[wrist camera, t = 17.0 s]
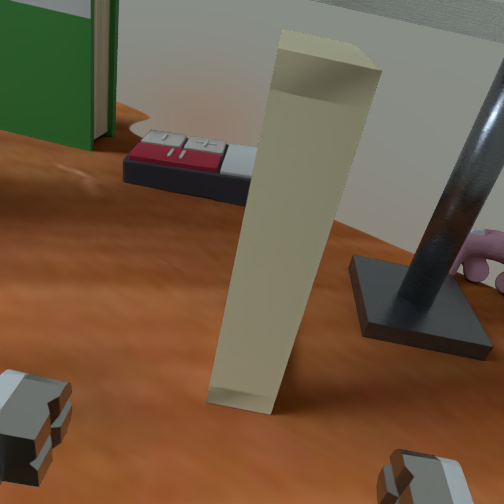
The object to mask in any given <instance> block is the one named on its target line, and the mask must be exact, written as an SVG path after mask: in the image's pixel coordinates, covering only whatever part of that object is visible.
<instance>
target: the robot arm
mask: <svg viewBox="0 0 504 504" xmlns="http://www.w3.org/2000/svg"><path fill="white" fill-rule="evenodd" d="M71 393H72V386H71V383H68V382H63V381H59V380H55V379H50V378H46V377H41V376H37V375H32V374H28V373H24V372H19V371H14V370H9V369H7V370H6V371H5V372H3V373H2V374H1V375H0V484H1V483H2V482H1V481H4V482H10V483H16V484H22V485H28V486H35V487H39V486H40V484H41V482H42V480H43V478H44V476H45V474H46V472H47V470H48V468H49V467H50V465H51V463H52V461H53V459H52V449H53V448H55V447H56V446H58V445H59V444H61V442H62V440H63V438H64V436H65V434H66V432H67V429H68V426H69V423H70V420H71V415H72V404H71V402H70V401H69V400H68V399H69V397H70V395H71ZM390 461H391V464H388V465H386V466H384V467H383V468H382V470H381V472H380V473H379V476H378V481H377V500H378V504H474V503H473V500H472V497H471V494H470V491H469V488H468V485H467V483H466V480H465V477H464V474H463V471H462V468H461V466H460V464H459V463H458V462H457V461H455V460H452V459H446V458H441V457H435V456H434V455H429V454H423V453H418V452H413V451H407V450H402V449H396V450H394V451H393V452H392V454H391V455H390Z"/></svg>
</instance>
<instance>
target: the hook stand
mask: <svg viewBox="0 0 504 504" xmlns="http://www.w3.org/2000/svg"><path fill="white" fill-rule="evenodd" d="M312 1H317V2H321V3H326V4H330V5H335V6H339V7H344V8H348V9H352V10H357V11H361V12H366V13H370V14H375V15H379V16H384V17H388V18H393V19H397V20H402V21H406V22H410V23H415V24H419V25H424V26H428V27H433V28H437V29H442V30H446V31H451V32H455V33H460V34H464V35H469V36H473V37H478V38H482V39H486V40H491V41H495V42H500V43H504V3H500V2H495V1H491V0H312ZM503 166H504V59H503V61H502V63H501V65H500V67H499V70H498V72H497V74H496V77H495V78H494V81H493V83H492V85H491V87H490V90H489V92H488V94H487V96H486V98H485V100H484V103H483V105H482V107H481V109H480V112H479V114H478V116H477V118H476V120H475V123H474V125H473V127H472V130H471V132H470V134H469V136H468V138H467V140H466V142H465V145H464V147H463V149H462V151H461V153H460V156H459V158H458V160H457V162H456V164H455V167H454V169H453V171H452V173H451V175H450V178H449V180H448V182H447V184H446V186H445V189H444V191H443V193H442V195H441V198H440V200H439V202H438V204H437V206H436V209H435V211H434V213H433V216H432V218H431V220H430V222H429V224H428V226H427V229H426V231H425V233H424V235H423V237H422V240H421V242H420V244H419V246H418V248H417V250H416V253H415V255H414V257H413V259H412V262H411V264H410V266H406V265H401V264H396V263H391V262H386V261H382V260H377V259H372V258H367V257H362V256H357V255H353V257H352V259H351V262H350V265H349V272H350V277H351V282H352V287H353V292H354V297H355V302H356V307H357V312H358V317H359V321H360V326H361V331H362V336H364V337H369V338H374V339H379V340H384V341H389V342H394V343H399V344H404V345H409V346H414V347H419V348H424V349H429V350H434V351H439V352H444V353H449V354H454V355H459V356H464V357H469V358H474V359H479V360H484V361H485V359H486V358H487V356H488V355H489V353H490V351H491V350H492V348H493V345H492V343H491V342H490V340H489V338H488V336H487V335H486V333H485V331H484V329H483V327H482V326H481V324H480V322H479V320H478V318H477V317H476V315H475V313H474V311H473V309H472V308H471V306H470V304H469V302H468V301H467V299H466V297H465V295H464V293H463V292H462V290H461V288H460V286H459V284H458V283H457V281H456V279H455V277H454V276H453V275H450V274H448V273H449V271H450V269H451V267H452V265H453V263H454V262H455V260H456V258H457V256H458V254H459V252H460V250H461V248H462V246H463V244H464V242H465V240H466V238H467V236H468V234H469V232H470V230H471V228H472V227H473V225H474V223H475V220H476V219H477V217H478V215H479V213H480V211H481V209H482V207H483V205H484V203H485V201H486V199H487V197H488V195H489V193H490V192H491V189H492V188H493V186H494V184H495V182H496V180H497V178H498V176H499V174H500V172H501V170H502V168H503Z"/></svg>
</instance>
